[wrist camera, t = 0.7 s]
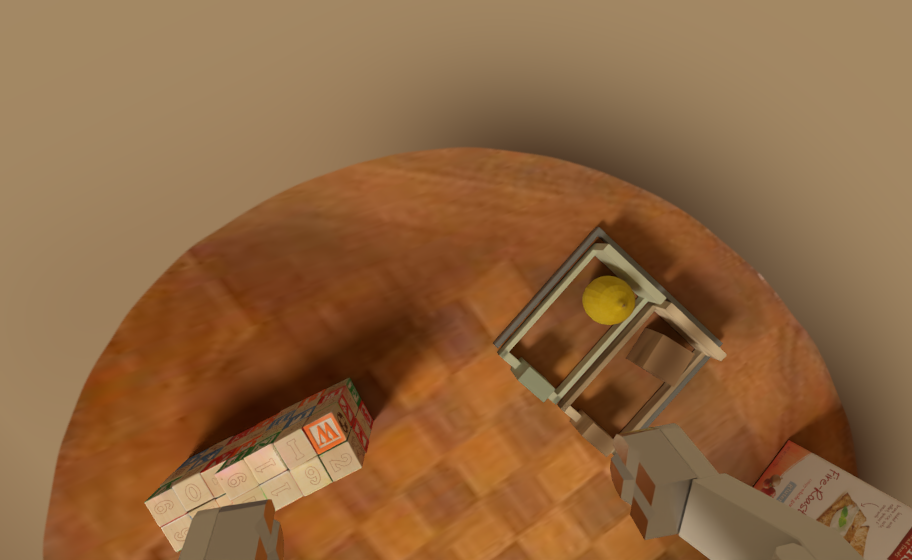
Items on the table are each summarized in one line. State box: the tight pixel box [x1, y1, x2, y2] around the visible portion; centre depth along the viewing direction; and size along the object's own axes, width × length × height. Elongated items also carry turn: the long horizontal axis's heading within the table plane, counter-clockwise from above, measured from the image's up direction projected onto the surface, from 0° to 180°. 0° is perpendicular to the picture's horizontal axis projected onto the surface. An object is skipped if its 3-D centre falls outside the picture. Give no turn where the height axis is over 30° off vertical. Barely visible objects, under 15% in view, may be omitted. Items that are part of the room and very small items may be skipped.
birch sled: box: [557, 301, 727, 457], centre depth 57 cm, size 9×18×4 cm, turn 138°
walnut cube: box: [626, 327, 695, 387], centre depth 58 cm, size 4×4×4 cm
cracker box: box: [753, 440, 912, 560], centre depth 52 cm, size 14×6×21 cm, turn 144°
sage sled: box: [497, 243, 666, 404], centre depth 56 cm, size 9×18×4 cm, turn 138°
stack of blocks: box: [145, 378, 373, 552], centre depth 51 cm, size 21×6×12 cm, turn 116°
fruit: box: [582, 276, 635, 325], centre depth 55 cm, size 6×6×8 cm
